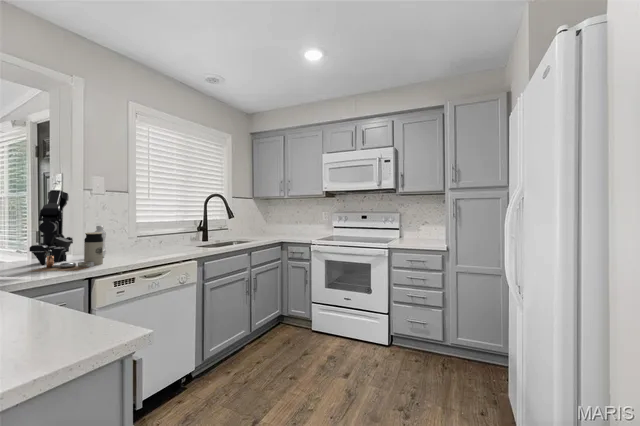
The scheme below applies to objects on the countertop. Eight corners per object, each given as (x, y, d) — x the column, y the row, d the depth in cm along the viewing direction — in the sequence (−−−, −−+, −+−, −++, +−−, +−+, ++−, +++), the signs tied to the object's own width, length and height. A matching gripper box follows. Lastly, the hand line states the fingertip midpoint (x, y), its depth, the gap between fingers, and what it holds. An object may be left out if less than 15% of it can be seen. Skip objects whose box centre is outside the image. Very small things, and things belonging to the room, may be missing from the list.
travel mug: (80, 266, 160) (81, 232, 160) (97, 264, 167) (98, 232, 167) (88, 268, 156) (89, 233, 156) (105, 266, 163) (106, 232, 163)
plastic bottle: (108, 257, 195) (108, 225, 195) (96, 258, 188) (97, 226, 188) (102, 256, 197) (102, 225, 197) (90, 257, 191) (91, 225, 191)
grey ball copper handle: (78, 265, 155) (78, 254, 155) (70, 267, 149) (71, 256, 149) (51, 266, 153) (51, 255, 153) (42, 268, 147) (42, 256, 147)
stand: (27, 274, 140) (27, 266, 140) (49, 268, 154) (49, 261, 154) (77, 273, 143) (77, 266, 143) (94, 268, 157) (94, 261, 157)
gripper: (55, 233, 142) (55, 267, 142) (80, 231, 161) (80, 260, 161) (28, 233, 141) (28, 267, 141) (57, 231, 159) (56, 261, 159)
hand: (50, 263), depth 150 cm, fingers open, 9 cm apart
